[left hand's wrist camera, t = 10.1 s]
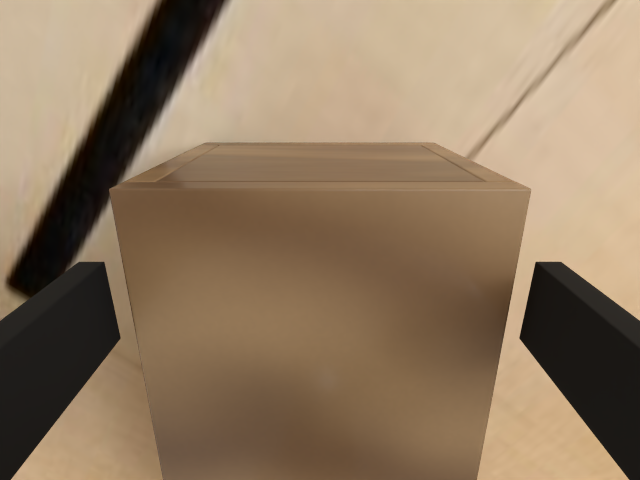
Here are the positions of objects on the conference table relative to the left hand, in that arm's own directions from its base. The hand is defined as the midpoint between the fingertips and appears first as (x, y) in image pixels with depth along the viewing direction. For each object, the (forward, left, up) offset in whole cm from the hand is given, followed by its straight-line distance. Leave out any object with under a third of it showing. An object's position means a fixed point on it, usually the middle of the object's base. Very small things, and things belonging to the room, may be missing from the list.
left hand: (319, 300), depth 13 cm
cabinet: (+6, -2, -9) cm, 11 cm away
